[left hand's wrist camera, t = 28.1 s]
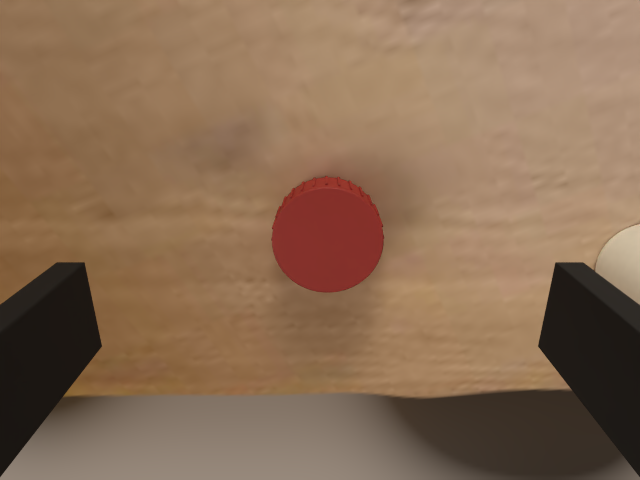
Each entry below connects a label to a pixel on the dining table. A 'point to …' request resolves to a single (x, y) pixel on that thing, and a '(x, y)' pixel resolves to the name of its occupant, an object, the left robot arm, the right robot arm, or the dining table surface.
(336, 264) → the lid
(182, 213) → the dining table surface
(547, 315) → the left robot arm
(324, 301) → the dining table surface
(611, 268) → the cream slim bottle
